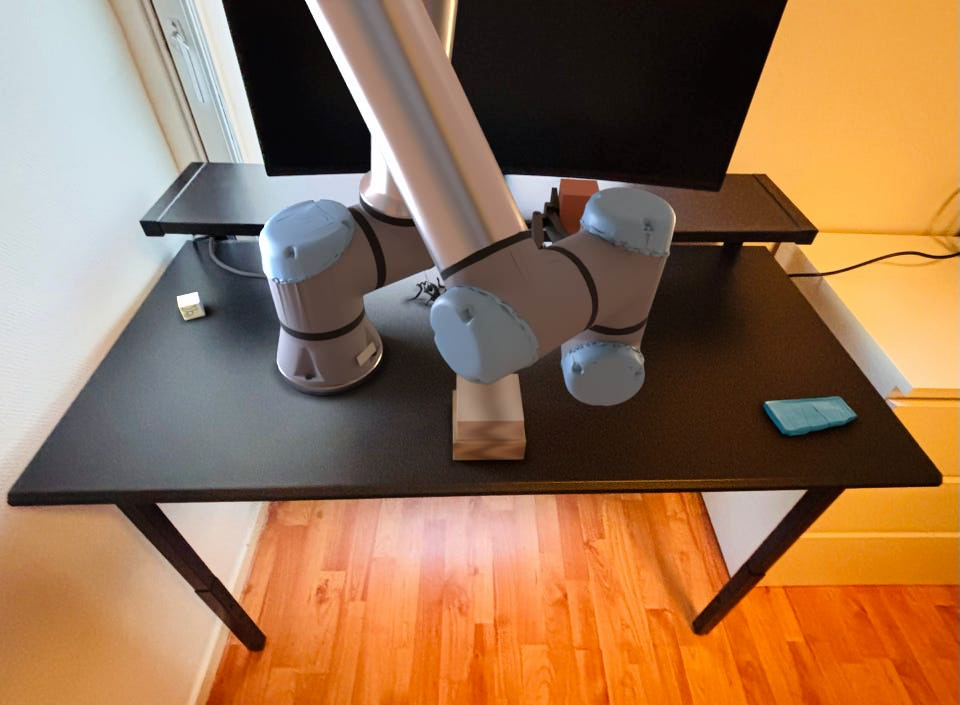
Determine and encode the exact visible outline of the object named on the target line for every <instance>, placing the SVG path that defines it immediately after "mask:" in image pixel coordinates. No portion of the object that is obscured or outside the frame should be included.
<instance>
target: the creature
mask: <svg viewBox="0 0 960 705" xmlns="http://www.w3.org/2000/svg"><path fill="white" fill-rule="evenodd" d="M424 276H425V279H426V280H424V281H420V283H416V285H415V286H416V287H418V288H419V291H418V293H417V294H416V295H415V296H414V297H412V298H410V299H406V302H410V301H415V300H418V299H419V300H420V303H421V304H423V305H424V306H425V307H427V306H428V305H429V302H433V303H434V302H435V300H436V299H437V298H438V297H439V296H440V295H442V294H444V293H445V292H446V291H447V290H446V287H445V285H441V282H440V278H439V276H436V280H437V285H436V284H434V283H432V282H430V280H429V278H428V276H427V274H426V273H424ZM422 285H423V286H422ZM440 289H444V291H443V292H442V293H441V292H440ZM422 292H423V293H424V294H428V295H429V296H430V298H429V299H427V301H426V303H425V302H422V300H423V298H419V296H421V293H422ZM432 292H433V293H432Z"/></svg>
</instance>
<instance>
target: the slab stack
mask: <svg viewBox="0 0 960 705" xmlns="http://www.w3.org/2000/svg"><path fill="white" fill-rule="evenodd" d="M523 409H524V408H523V401H522V393H521V386H520V379H519V374H518V373H512V374H510V375H508V376H506V377H504V378H502V379H500V380H498V381H496V382H495V383H492V384H490V385H486V384H483V385H480V384H474V383H471V382H469V381H467V380H465V379H463V378H462V377H461V376H459V375H458V374H457V373H456V389H453V390H452V460H453V461H487V460H488V461H493V460H494V461H495V460H497V461H499V460H502V461H503V460H524V459H525V451H526V446H527V439H526V433H525V417H524V410H523Z"/></svg>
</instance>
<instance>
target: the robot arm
mask: <svg viewBox="0 0 960 705" xmlns="http://www.w3.org/2000/svg"><path fill="white" fill-rule="evenodd" d="M305 2H306V5H307V6H308V9H309V10H310V13H311V15H312V17H313V19H314V21H315V23H316V26H317V27H318V29H319V31H320V33H321V36H322V37H323V39H324V41H325V43H326V46H327V48H328V49H329V51H330V53H331V55H332V58H333V60H334V62H335V64H336V65H337V68H338V70H339V73H341V74H340V75H341V76H342V78H343V80H344V82H345V83H346V86H347V88H348V90H349V93H350V95H351V96H352V99H353V100H354V103H355V104H356V107H357V108H358V110H359V113H360V115H361V116H362V119H363V122H364V123H365V124H366V127H367V129H368V131H369V133H370V147H371V148H370V170H369V171H367V172H366V173H365V174H364V175H363V176H362V177H361V179H360V181H359V187H358V188H359V189H358V192H359V193H358V194H359V195H358V203H357V204H353V205H350V206H348V207H347V206H346V205H345V204H343V203H341V202H339V201H336V200H332V199H325V198H324V199H321V198H320V199H319V200H317V201H315V200H314V199H309V200H303V201H299V202H297V203H296V202H295V203H293V204H291V205H289V206H286V207H285V208H282V209H280V210H279V211H277V212H276V213H275V214H273V215H272V216H271V217H270V218H269V219H268V220H267V221H266V222H265V224H264V227H263V228H262V230H261V231H260V234H259V240H258V243H259V249H260V255H261V266H262V271H263V272H264V273H261V272H250V271H244V270H240V269H238V268H235V267H232V266H230V265H228V264H226V263H224V262H222V261H221V260H220V259H219V258H218V257H217V256H216V254H215V251H214V240H215V239H216V236H215V237H210V236H209V239H208V251H209V255H210V258H211V259H212V260H213V261H214V262H215V263H216V264H217V265H218V266H220V267H221V268H222V269H224V270H226V271H229V272H231V273H233V274H236V275H240V276H242V277H243V276H244V277H249V278H250V277H251V278H261V279H267V282H268V285H269V288H270V293H271V296H272V300H273V303H274V306H275V310H276V314H277V317H278V320H279V324H280V330H279V338H278V344H277V345H278V346H277V353H276V363H277V366H278V370H279V374H280V376H281V377H282V379H283V381H284V382H285V383H286V384H287V385H288V386H290V387H291V388H293V389H294V390H296V391H299V392H300V393H305V394H308V395H315V396H330V395H331V396H332V395H338V394H343V393H346V392H349V391H351V390H354V389H356V388H358V387H361V386H362V385H364V384H366V383H367V382H368V381H369V380H371V379H372V378H373V377H374V376H375V375H376V374H377V372H378V371H379V370H380V368H381V366H382V364H383V362H384V346H383V341H382V338H381V336H380V334H379V332H378V330H377V328H376V327H375V325H374V324H373V322H372V320H371V318H370V316H369V315H368V314H367V312H366V308H365V300H364V297H365V295H368V294H370V293H372V292H375V291H378V290H379V289H382V288H385V287H387V286H390V285H393V284H395V283H397V282H401V281H402V280H405V279H407V278H409V277H412V276H415V275H418V274H420V273H423V272H426V271H428V270H429V271H430V270H431V269H433V268H436V269H437V272H438V274H439V276H440V278H441V280H442V282H443V284H444V286H445V289H446V290H447V291H446V292H445V293H444V294H442V293H441V294H442V295H440V296H439V297H438V298H437V299H436V300H435V302H434V301H433V304H432V305H431V309H430V314H429V320H430V326H431V328H432V331H433V332H434V336H433V338H434V340H433V341H434V342H435V345H436V347H437V350H438V351H439V353H440V355H441V357H442V358H443V359H444V361H445V362H446V363H447V365H448V366H449V367H450V369H451V370H452V371H453V372H454V373H455V374H456V375H457V374H458V375H459V376H461V377H462V378H463V379H465V380H467V381H469V382H471V383H474V384H480V385H483V384H486V385H490V384H492V383H495V382H496V381H498V380H500V379H502V378H504V377H506V376H508V375H510V374H514V373H515V372H518V371H519V370H521V369H528V368H529V367H532V365H533V364H535V363H536V362H537V361H538V360H540V359H541V358H543V357H544V356H546V355H547V354H550V353H551V352H553V351H554V350H556V349H557V348H559V347H560V351H561V352H560V353H561V360H560V368H561V370H562V373H563V379H564V383H565V386H566V388H567V391H568V392H569V393H570V395H571V396H573V397H574V398H575V399H576V400H578V401H579V402H581V403H584V404H586V405H590V406H603V407H609V406H615V405H619V404H622V403H624V402H626V401H628V400H630V399H631V398H632V397H634V396H635V395H636V394H638V392H639V391H640V390H641V388H642V387H643V384H644V382H645V375H646V373H645V366H644V364H645V358H644V355H643V353H642V352H641V343H642V339H643V336H644V333H645V330H646V327H647V323H648V318H649V314H650V311H651V307H652V305H653V302H654V299H655V296H656V293H657V289H658V286H659V284H660V282H661V278H662V276H663V275H662V274H663V272H664V268H665V266H666V262H667V259H668V258H669V257H670V254H671V251H670V248H671V243H672V239H673V236H674V231H675V227H676V220H677V219H676V214H675V211H674V209H673V207H672V206H671V204H670V203H669V202H667V201H666V200H665V199H664V198H662V197H661V196H658V195H657V194H654V193H651V192H650V191H647V190H643V189H638V188H636V187H635V188H633V187H628V186H627V187H626V186H625V187H624V186H616V187H608V188H604V189H601V190H600V191H598V192H596V193H595V194H594V195H592V196H591V198H590V199H589V201H588V202H587V204H586V207H585V211H584V214H583V216H582V219H580V224H581V229H580V230H579V232H578V233H576V234H573V235H572V233H571V232H569V233H568V231H567V230H566V228H565V227H564V225H563V224H562V222H561V221H560V219H559V210H560V207H559V199H558V194H559V190H558V187H553V186H552V187H551V191H550V199H549V201H545V202H544V203H543V210H542V212H541V211H539V210H534V211H533V212H532V216H531V223H530V230H529V227H528V226H527V224H526V221H525V220H524V217H523V215H522V213H521V211H520V208H519V207H518V205H517V202H516V200H515V199H514V196H513V194H512V191H511V189H510V187H509V185H508V183H507V181H506V178H505V176H504V175H503V173H502V169H501V168H500V166H499V163H498V162H497V160H496V157H495V154H494V153H493V150H492V149H491V147H490V144H489V142H488V140H487V138H486V136H485V133H484V131H483V129H482V127H481V125H480V123H479V121H478V119H477V117H476V115H475V112H474V110H473V107H472V106H471V104H470V101H469V99H468V97H467V95H466V93H465V90H464V89H463V86H462V84H461V82H460V80H459V78H458V76H457V73H456V71H455V69H454V67H453V65H452V59H453V58H452V57H453V48H454V40H455V33H456V32H455V31H456V30H455V29H456V23H457V22H456V21H457V14H458V4H459V0H305ZM544 231H545V232H546V234H547V236H548V237H549V239H550V241H551V244H549V245H547V243H545V232H544ZM552 242H553V244H552Z"/></svg>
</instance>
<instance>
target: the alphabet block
mask: <svg viewBox="0 0 960 705" xmlns="http://www.w3.org/2000/svg"><path fill="white" fill-rule="evenodd" d="M176 299H177V305H178V308H179V310H180V314H181V315H182V317H183V319H184V321H188V320H193V319H197V318H202V317H205V316H206V311H205V308H204V307H205V306H204V304H203V301H202V299H201V297H200V294H199V292H198V291H196V292H191V293H188V294H183V295H179V296H176Z"/></svg>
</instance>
